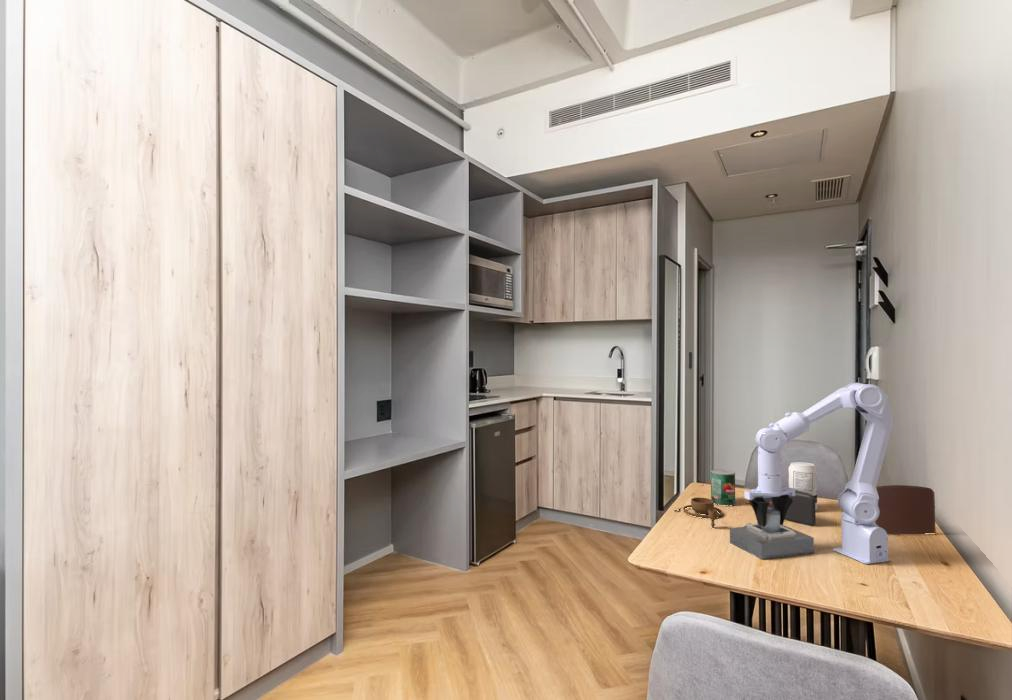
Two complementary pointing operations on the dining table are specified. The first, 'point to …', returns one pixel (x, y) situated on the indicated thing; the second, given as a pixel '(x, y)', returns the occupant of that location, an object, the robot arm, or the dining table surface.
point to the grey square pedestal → (771, 541)
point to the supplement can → (803, 478)
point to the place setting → (704, 509)
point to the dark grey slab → (799, 508)
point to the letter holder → (906, 509)
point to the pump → (772, 521)
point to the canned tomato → (723, 487)
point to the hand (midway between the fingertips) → (770, 524)
